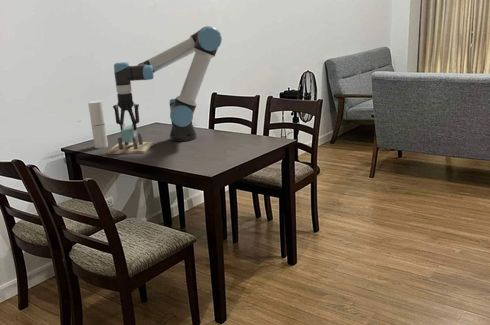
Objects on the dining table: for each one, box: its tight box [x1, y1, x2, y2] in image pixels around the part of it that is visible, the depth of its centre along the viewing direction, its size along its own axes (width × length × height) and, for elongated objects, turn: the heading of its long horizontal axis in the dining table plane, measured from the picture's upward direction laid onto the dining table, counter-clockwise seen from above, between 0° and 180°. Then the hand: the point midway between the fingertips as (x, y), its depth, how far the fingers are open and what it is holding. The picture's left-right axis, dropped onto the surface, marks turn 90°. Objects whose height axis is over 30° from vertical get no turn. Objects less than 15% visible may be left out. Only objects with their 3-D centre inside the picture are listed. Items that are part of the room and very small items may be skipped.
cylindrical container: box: [87, 100, 109, 149], centre depth 268 cm, size 7×7×25 cm
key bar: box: [120, 125, 138, 143], centre depth 261 cm, size 12×4×6 cm, turn 174°
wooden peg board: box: [106, 132, 155, 155], centre depth 262 cm, size 20×18×7 cm
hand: (129, 136), depth 261 cm, fingers closed on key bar, 4 cm apart
